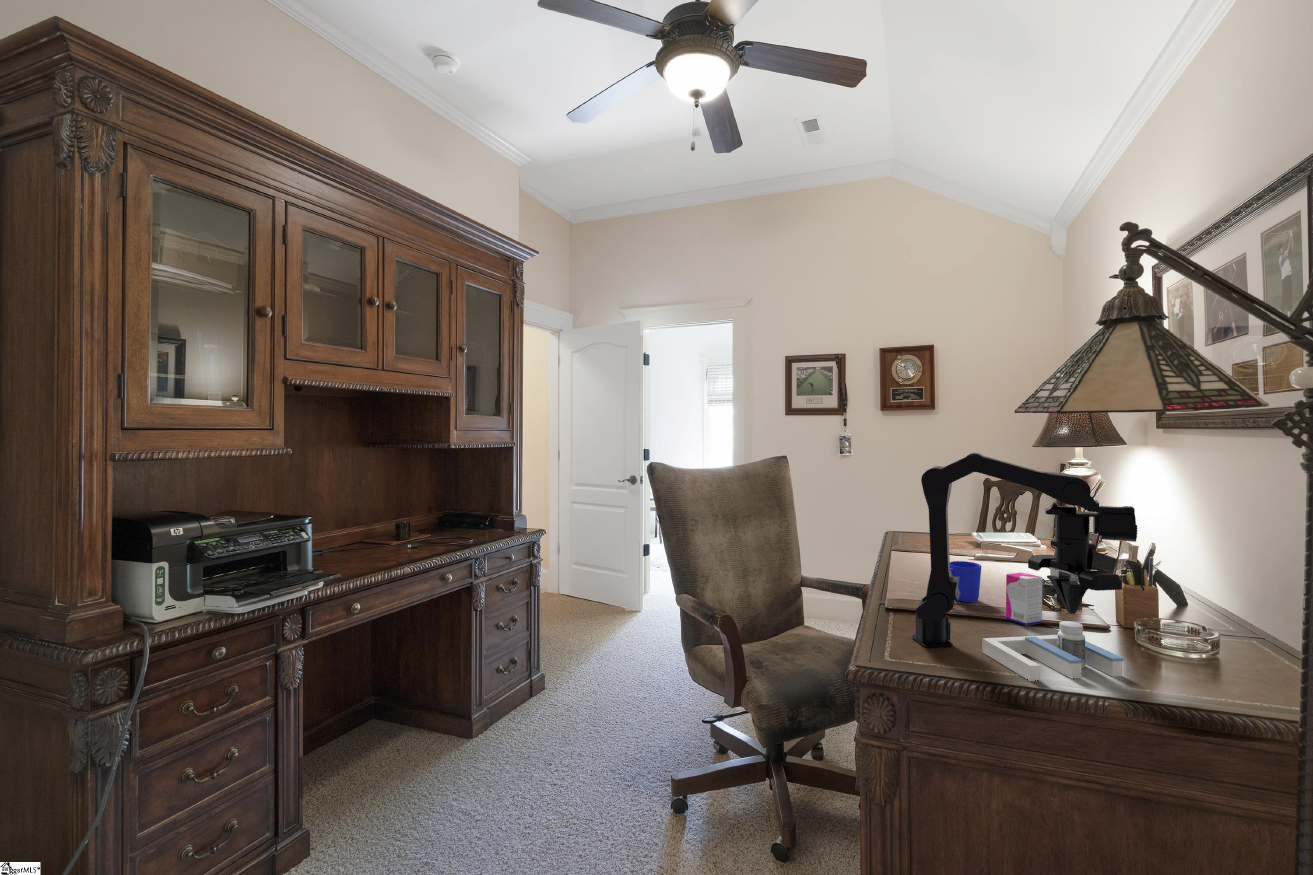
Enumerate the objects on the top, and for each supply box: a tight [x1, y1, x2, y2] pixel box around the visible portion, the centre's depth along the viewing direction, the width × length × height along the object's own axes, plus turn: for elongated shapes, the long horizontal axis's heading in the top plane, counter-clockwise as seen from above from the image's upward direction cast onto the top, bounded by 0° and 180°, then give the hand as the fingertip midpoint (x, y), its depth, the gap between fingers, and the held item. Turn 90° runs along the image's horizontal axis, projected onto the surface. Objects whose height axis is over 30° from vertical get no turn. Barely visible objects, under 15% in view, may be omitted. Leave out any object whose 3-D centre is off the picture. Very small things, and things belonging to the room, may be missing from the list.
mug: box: [950, 560, 982, 603], centre depth 171 cm, size 8×12×10 cm
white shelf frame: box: [981, 634, 1124, 682], centre depth 127 cm, size 19×15×4 cm
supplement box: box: [1005, 572, 1043, 627], centre depth 153 cm, size 6×6×12 cm
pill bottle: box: [1056, 620, 1086, 669], centre depth 126 cm, size 5×5×8 cm
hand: (1071, 613), depth 126 cm, fingers closed
